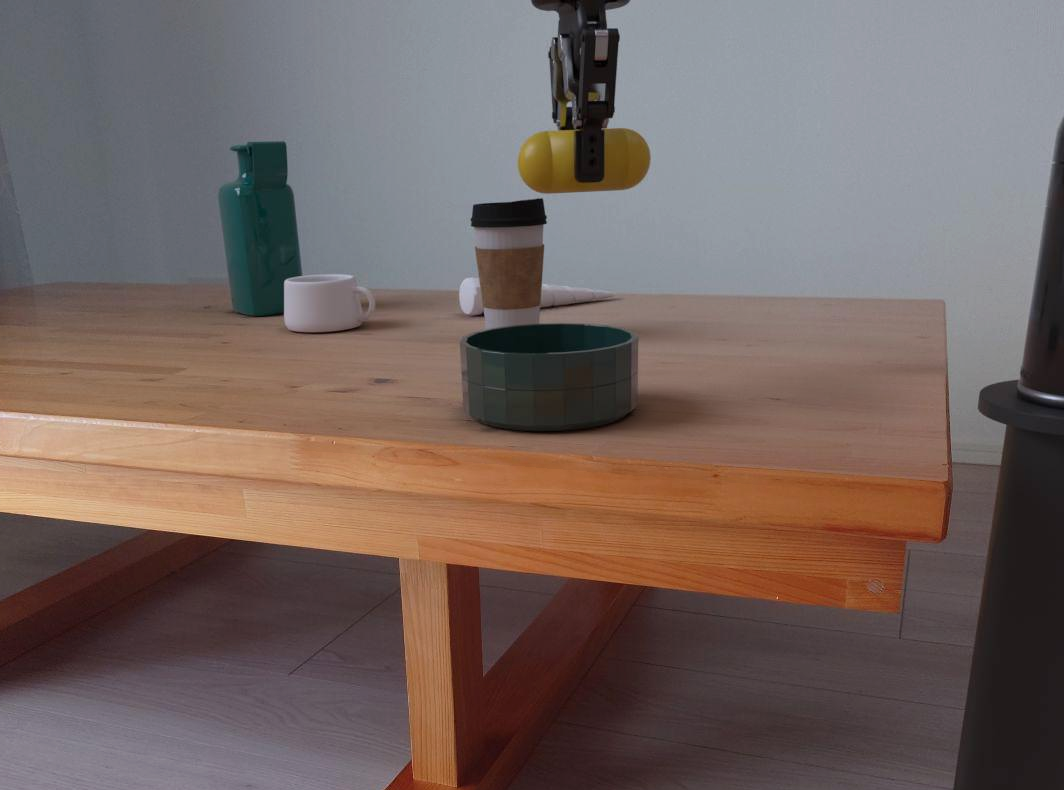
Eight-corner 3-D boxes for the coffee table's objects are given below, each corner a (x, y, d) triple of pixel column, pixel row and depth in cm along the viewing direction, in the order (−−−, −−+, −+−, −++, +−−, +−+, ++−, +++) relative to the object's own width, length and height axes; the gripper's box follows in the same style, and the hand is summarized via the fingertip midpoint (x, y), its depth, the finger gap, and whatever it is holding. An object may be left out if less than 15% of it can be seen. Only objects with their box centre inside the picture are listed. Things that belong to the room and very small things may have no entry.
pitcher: (228, 312, 141) (205, 143, 133) (282, 305, 146) (264, 142, 138) (259, 318, 134) (238, 141, 126) (316, 311, 139) (298, 140, 131)
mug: (270, 333, 123) (264, 282, 121) (308, 320, 132) (303, 273, 129) (360, 335, 120) (355, 283, 117) (393, 322, 128) (389, 273, 126)
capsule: (649, 201, 81) (638, 158, 83) (661, 158, 77) (649, 113, 79) (519, 207, 80) (511, 163, 82) (524, 164, 76) (516, 118, 77)
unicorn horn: (630, 301, 139) (630, 265, 137) (472, 318, 129) (470, 280, 128) (613, 297, 143) (613, 262, 141) (458, 314, 133) (455, 277, 132)
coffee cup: (527, 346, 110) (522, 201, 104) (461, 341, 113) (454, 201, 108) (562, 333, 116) (560, 196, 111) (499, 329, 120) (494, 197, 115)
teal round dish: (653, 396, 86) (654, 325, 84) (611, 439, 74) (611, 357, 71) (500, 388, 90) (498, 321, 88) (436, 427, 78) (431, 350, 76)
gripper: (658, -88, 68) (653, 182, 74) (607, -48, 81) (606, 178, 87) (548, -88, 66) (552, 185, 73) (514, -48, 80) (520, 181, 86)
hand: (581, 180), depth 80 cm, fingers closed on capsule, 4 cm apart
